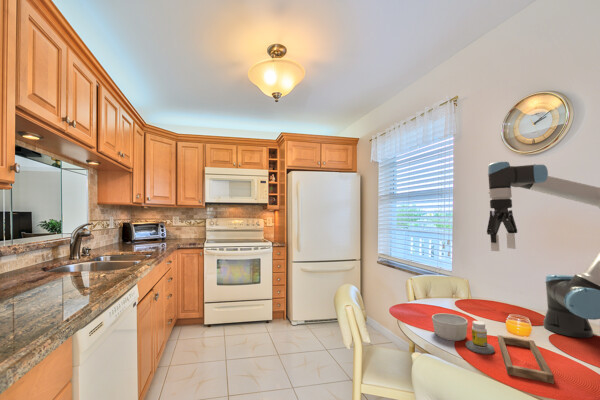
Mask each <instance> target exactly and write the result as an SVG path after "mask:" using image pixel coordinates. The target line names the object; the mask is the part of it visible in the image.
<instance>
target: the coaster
mask: <svg viewBox="0 0 600 400" xmlns="http://www.w3.org/2000/svg"><path fill="white" fill-rule="evenodd" d="M465 347H466V349H468V351H471V352H474V353H476V354H481V355H492V354H494V353H495V347H494V346H493V345H492V344H490V343H488V342H487V348H478V347H476V346H474V345H473V343H472V340H471V339H470V340H467V341H466V342H465Z"/></svg>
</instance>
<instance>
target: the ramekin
mask: <svg viewBox="0 0 600 400" xmlns="http://www.w3.org/2000/svg"><path fill="white" fill-rule="evenodd" d="M431 321H432V326H433V331H434V333H435V334H436V336H438V337H439V338H440V339H444V340H447V341H454V342H457V341H459V342H460V341H463V340H465V339H466V338H467V335H468V334H467V333H468V324H469V323H468V319H466V318H465V317H464V316H461V315H458V314H454V313H445V312H443V313H442V312H441V313H435V314H433V315H432V316H431Z"/></svg>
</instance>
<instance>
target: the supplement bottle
mask: <svg viewBox="0 0 600 400" xmlns="http://www.w3.org/2000/svg"><path fill="white" fill-rule="evenodd" d="M471 324H472V326H471V337H472V338H471V339H472V343H473V345H474V346H476V347H478V348H487V343H488V333H487V332H488V331H487V328H486V323H485V322H483V321H480V320H472V323H471Z"/></svg>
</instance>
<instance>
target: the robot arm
mask: <svg viewBox="0 0 600 400" xmlns="http://www.w3.org/2000/svg"><path fill="white" fill-rule="evenodd" d="M487 167H488V171H487V173H488V174H487V175H488V176H487V177H488V189H489V191H488V194H489V198H490V200H489V208H490V209H491V210H489V219H488V224H487V228H486V234H487V235H489V236H490V250H491V252H492V251H493V252H500V237H499V234H498V233H499V230H500V227H501V224H503V226H504V228H505V229H506V232H507V233H506V247H507V249H511V250H512V249H514V250H515V249H516V236H515V234H517V233H518V229H517V225H516V221H515V218H514V215H513V210H512V209H511V208H513V200H512V199H511V198H512V187H513V188H521V189H525V190H531V191H535V192H539V193H543V194H547V195H550V196H555V197H558V198H561V199H567V200H570V201H574V202H579V203H583V204H587V205H591V206H595V207H597V208H599V209H600V187H598V186H595V185H589V184H585V183H581V182H576V181H572V180H567V179H563V178H558V177H554V176H549V171H548V168H547V166H546V165H545V164H536V163H535V164H529V165H528V164H526V165H516V166H515V165H514V166H513V165H510V162H508V161H495V162H491V163H490V164H488V166H487ZM492 209H493V210H492ZM509 209H511V210H509ZM545 288H546V290H545V291H546V300H547V301H546V302H547V304H546V305H547V310H546V313H545V314H544V315H545V316H544V318H543V322H542V323H543V327H544V329H546V330H548V331H550V332H552V333H556V334H559V335H562V336H567V337H571V338H580V339H581V338H582V339H587V338H589V339H590V338H592V337H593V336H594V330H593V328H592V326H591V324H590V322H589V320H591V321H594V320H600V251H599V252H598V254H597V255H596V256H595V258H594V259H593V260H592V261H591V262H590V264H589V265H588V267H587V268H586V269H585V270H584V272H581V273H575V274H574V275H567V274H566V275H565V274H547V275H545Z"/></svg>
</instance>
